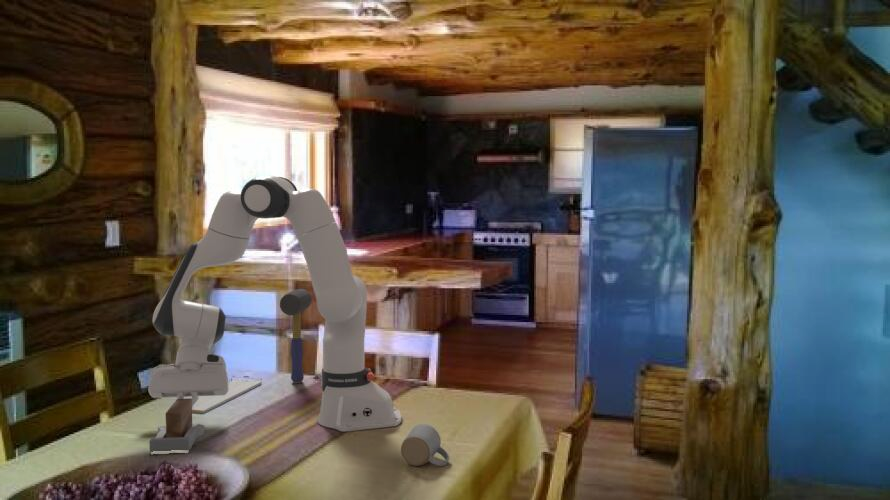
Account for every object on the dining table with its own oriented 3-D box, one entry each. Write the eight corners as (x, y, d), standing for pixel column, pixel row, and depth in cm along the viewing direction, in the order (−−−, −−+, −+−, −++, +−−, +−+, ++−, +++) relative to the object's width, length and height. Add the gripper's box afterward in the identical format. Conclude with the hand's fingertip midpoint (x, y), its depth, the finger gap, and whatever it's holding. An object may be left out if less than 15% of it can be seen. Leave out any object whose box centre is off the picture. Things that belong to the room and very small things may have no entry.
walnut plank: (192, 428, 189) (191, 398, 189) (181, 444, 178) (180, 412, 177) (178, 428, 189) (177, 398, 188) (166, 445, 177) (165, 413, 176)
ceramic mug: (398, 466, 164) (399, 433, 164) (409, 453, 172) (410, 421, 171) (443, 472, 162) (444, 438, 161) (453, 458, 169) (453, 426, 169)
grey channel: (204, 433, 185) (204, 420, 185) (193, 453, 172) (193, 438, 172) (158, 435, 184) (158, 422, 184) (144, 455, 170) (143, 441, 170)
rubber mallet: (302, 388, 227) (300, 293, 224) (279, 387, 228) (277, 292, 225) (314, 377, 239) (313, 287, 236) (292, 377, 240) (291, 287, 237)
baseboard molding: (166, 411, 205) (203, 416, 202) (166, 401, 205) (203, 405, 201) (228, 383, 235) (261, 386, 231) (228, 374, 234) (261, 377, 231)
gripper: (150, 358, 194) (141, 405, 186) (229, 356, 197) (223, 402, 188) (155, 370, 199) (146, 417, 190) (232, 368, 202) (227, 413, 193)
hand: (185, 409), depth 189 cm, fingers closed
